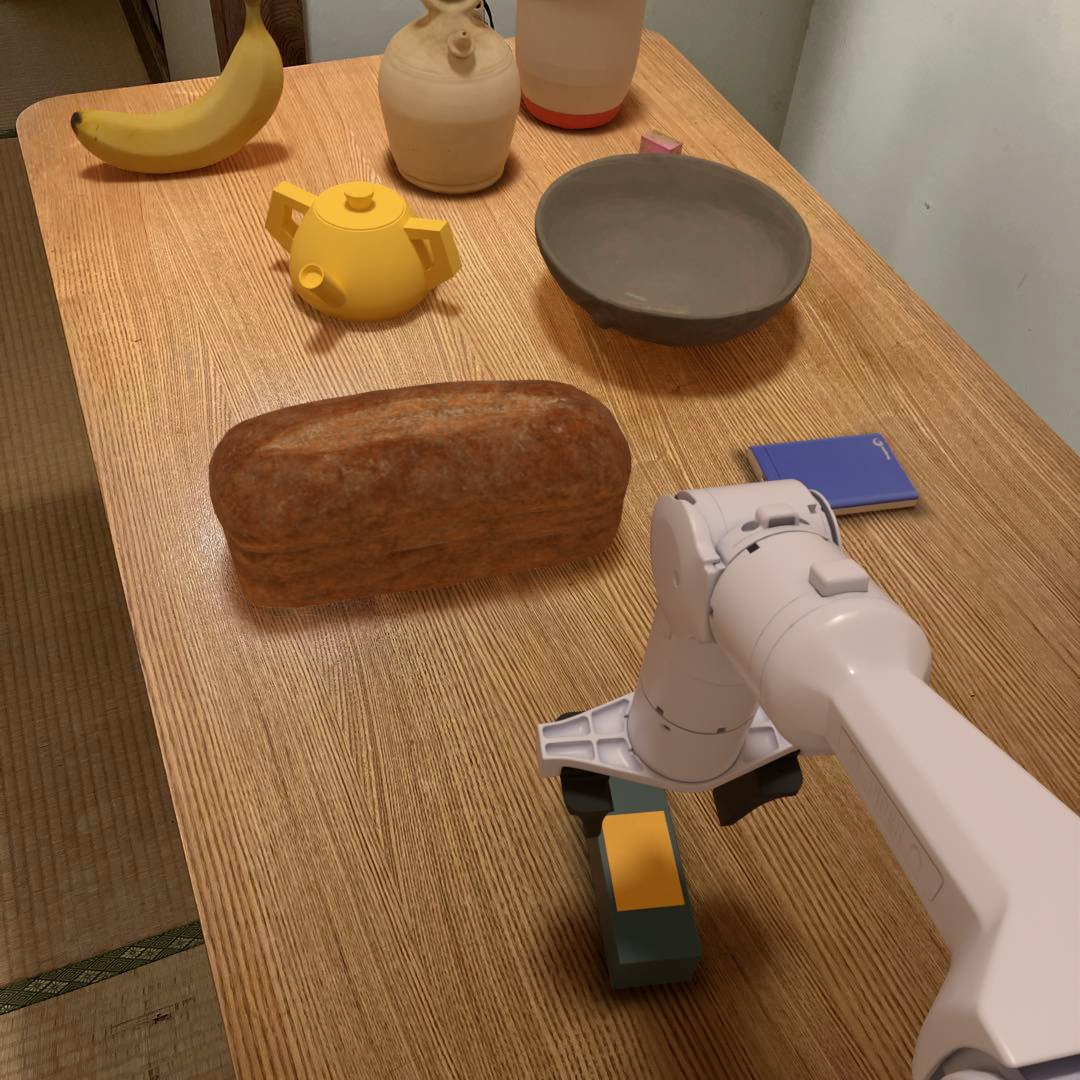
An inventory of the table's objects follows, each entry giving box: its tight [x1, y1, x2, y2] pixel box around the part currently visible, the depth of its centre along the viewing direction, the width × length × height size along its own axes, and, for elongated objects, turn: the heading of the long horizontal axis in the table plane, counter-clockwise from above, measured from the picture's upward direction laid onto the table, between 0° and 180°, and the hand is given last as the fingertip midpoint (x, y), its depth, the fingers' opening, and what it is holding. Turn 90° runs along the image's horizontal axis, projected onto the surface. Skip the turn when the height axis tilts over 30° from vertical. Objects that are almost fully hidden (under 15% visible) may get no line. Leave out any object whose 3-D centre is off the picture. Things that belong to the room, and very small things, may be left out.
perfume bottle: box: [638, 129, 684, 155], centre depth 123 cm, size 12×12×4 cm
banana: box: [69, 0, 285, 174], centre depth 113 cm, size 23×6×20 cm, turn 109°
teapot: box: [264, 180, 463, 324], centre depth 102 cm, size 20×18×11 cm
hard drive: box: [746, 432, 920, 516], centre depth 93 cm, size 2×8×12 cm
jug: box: [377, 0, 522, 196], centre depth 115 cm, size 15×16×25 cm
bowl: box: [534, 152, 813, 348], centre depth 105 cm, size 26×26×10 cm
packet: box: [585, 776, 703, 990], centre depth 66 cm, size 12×5×4 cm, turn 7°
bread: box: [208, 379, 633, 609], centre depth 81 cm, size 12×31×14 cm, turn 106°
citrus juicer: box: [514, 0, 647, 130], centre depth 129 cm, size 16×17×20 cm
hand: (655, 815), depth 60 cm, fingers open, 7 cm apart
